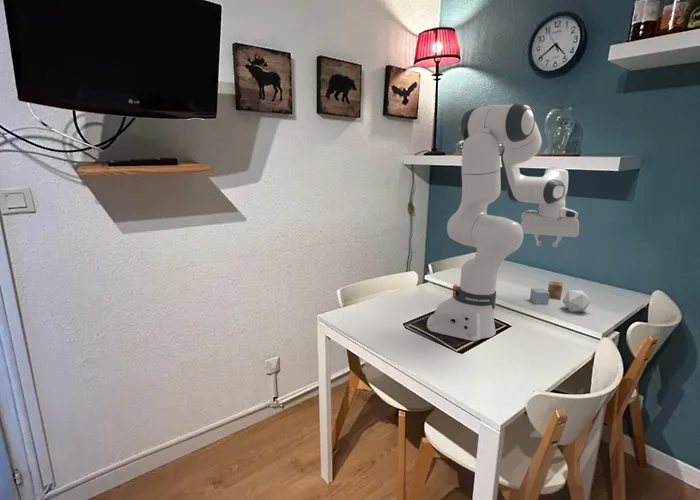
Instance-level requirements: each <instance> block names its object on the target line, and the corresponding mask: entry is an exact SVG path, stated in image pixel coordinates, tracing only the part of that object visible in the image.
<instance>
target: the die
mask: <svg viewBox="0 0 700 500" xmlns="http://www.w3.org/2000/svg"><path fill="white" fill-rule="evenodd" d="M561 301H562V303H563V304H564V306H565V307H566V309H568V311H569V312H570V313H584V312H585V311H586V309H587V308H588V306H589V305H590V304H591V303H592V300H591V299H590V298H589V297H588V296H587V294H586V292H585V291H584V290H577V289H574V290H573V289H572V290H571V289H570V290H568V291H567V292H566V294H565V295H564V297H563V299H562V300H561Z"/></svg>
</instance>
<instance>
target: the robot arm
mask: <svg viewBox="0 0 700 500" xmlns="http://www.w3.org/2000/svg"><path fill="white" fill-rule="evenodd" d="M459 128H460V129H459V130H460V133H461V137H462V139H463V141H464V143H463V144H462V153H461V188H462V189H461V194H462V195H461V200H460V204H459V207H458V209H457V210H456V212H455V213H453V214H452V215H451V216H450V218H449V219H448V221H447V226H446V231H447V232H446V233H447V235H448V237H449V238H450V239H451V240H453V241H455V242H457V243H459V244H461V245H463V246H467V247H468V246H469V247H473V248H475V249H476V253H475V256H474V258H470V259H468V260H467V261H465V262H464V263H463V264H462V266H461V272H460V273H461V274H460V285H459V284H453V286H452V290H453V291H452V296H451V297H450V298H448V299H446V300H444V301H442V302H440V303H439V304H438V305H437V307H436V308H435V312H434V313H433V314H431V315H430V316H429V317H428V318H427V321H426V328H427V329H428V330H429V332H431V333H432V332H433V333H436V334H441V335H446V336H450V337H453V338H458V339H464V340H467V341H471V342H477V341H479V340H481V339H487V338H491V337H494V336H495V335H496V334H497V332H496V331H497V330H496V325H495V316H494V315H495V312H494V310H495V307H496V303H497V302H496V301H497V291H496V287H497V280H498V272H499V269H500V267H501V265H502V263H503V261H504V260H505V259H506V258H507V257H508V256H509V255H512V254H513V253H515V252H517V251H518V250H519V248H520V247H521V246H522V244H523V241H524V237H525V235H533V238H534V239H535V241H536V242H535V243H536V244H535V245H536V246H537V247H541V246H542V245H541V244H542V241H541V240H539V239H538V238H539V237H540V236H541V235H542V236H553V237H556V238H557V239H556V240H555V241H552V247H553V248H558V244H559V243H560V242H561V241H562V239H563V237H566V238H567V237H568V238H569V237H570V238H578V236H579V234H580V222H579V220H578V216H579V212H578V211H575V210H574V209H571V208H570V207H566V205H567V204H566V196H567V195H568V190H569V189H568V188H569V171H568V170H567V169H566V168H563V167H562V168H561V167H546V169H545V171H544V175H542V176H527V175H523V174H521V171H520V166H519V164H522V163H525V162H528V161H530V160H531V159H533V158H534V157H535V156H536V155H537V154H538V152H540V149H541V147H542V143H543V140H542V135H541V132H540V129H539V126H538V123H537V122H536V117H535V112H534V111H533V110H532V108H531V107H530V105H527V104H523V103H514V104H489V105H485V106H482V107H480V106H479V107H473V108H471V109H469V110H467V111H465V113H464V114H463V116H462V118H461V120H460V124H459ZM499 144H503V146H504V147H503V148H502V150H501V153H500V151H499ZM501 169H502V171H503V176H504V180H505V184H506V195H507V197H508V198H509V199H510V201H511V202H513V203H527V204H539V205H538V210H535V209H526V210H524V211H523V212H521V216H520V220H521V223H519V222H517V221H515V220H512V219H510V218H507V217H504V216H497V215H491V214H488V206H489V205H490V204H491V203H493V202H495V201H496V200H497V199H498V198H499V196H500V195H501V194H502V193H501V191H502V189H501V187H502V186H501V183H502V181H501V179H502V178H501ZM524 234H525V235H524Z"/></svg>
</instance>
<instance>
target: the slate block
mask: <svg viewBox="0 0 700 500" xmlns="http://www.w3.org/2000/svg"><path fill="white" fill-rule="evenodd" d="M549 295H550V293H549V292H548V290H546V289H545V288H530V295H529V301H531V302H532V303H533V304H534V305H549V301H550V298H549Z"/></svg>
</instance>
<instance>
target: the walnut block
mask: <svg viewBox="0 0 700 500" xmlns="http://www.w3.org/2000/svg"><path fill="white" fill-rule="evenodd" d="M563 285H564V284H563V282H560V281H553V280H549V281H548V287H547V291H548V292H549V293H550V295H549V299H553V300H559V301H562V300H561V298H562V294H563V293H562V292H563Z"/></svg>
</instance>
